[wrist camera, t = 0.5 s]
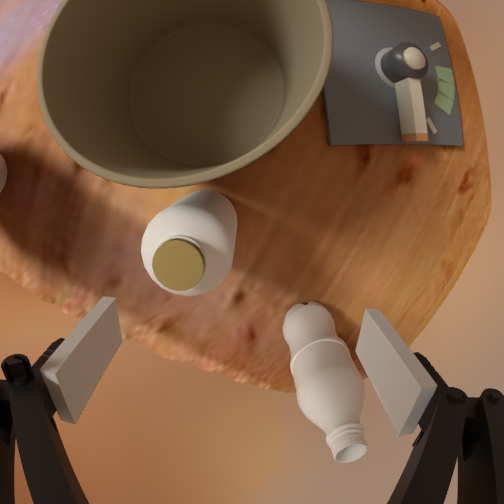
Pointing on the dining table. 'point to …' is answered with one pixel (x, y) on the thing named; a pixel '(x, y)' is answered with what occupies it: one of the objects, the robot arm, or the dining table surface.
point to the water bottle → (326, 379)
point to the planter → (180, 83)
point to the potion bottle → (191, 243)
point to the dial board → (377, 84)
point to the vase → (2, 173)
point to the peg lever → (408, 88)
